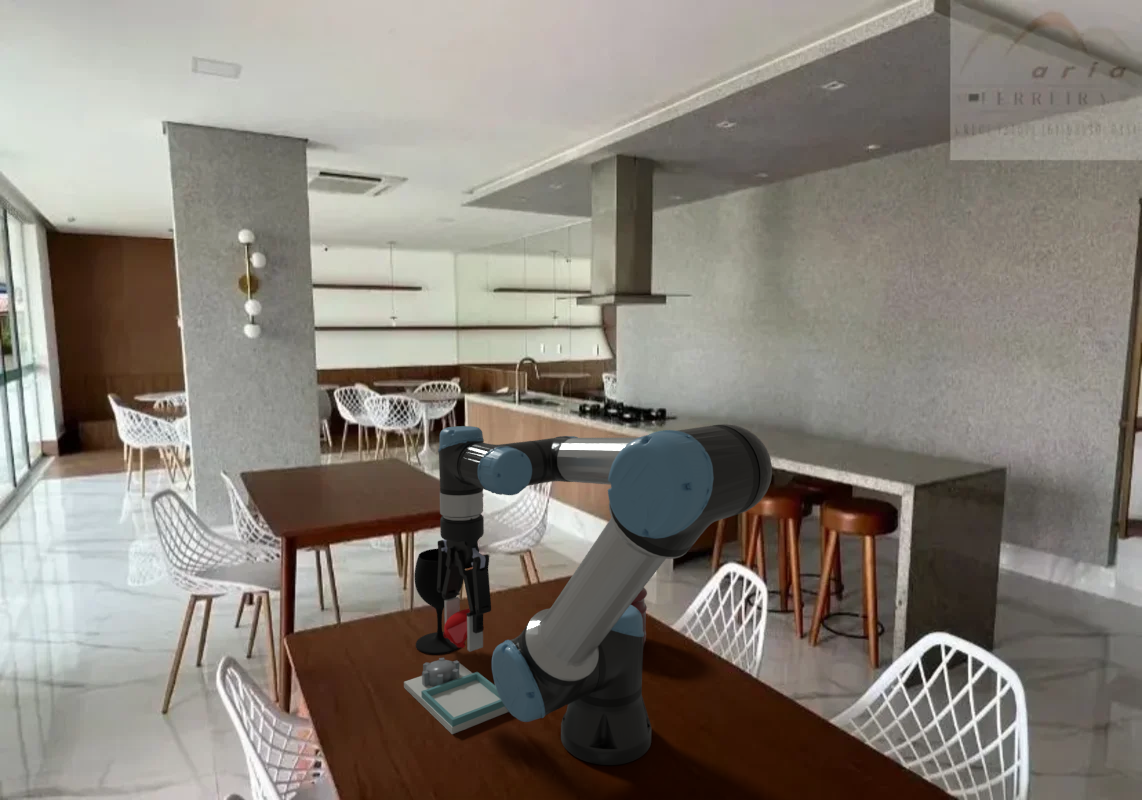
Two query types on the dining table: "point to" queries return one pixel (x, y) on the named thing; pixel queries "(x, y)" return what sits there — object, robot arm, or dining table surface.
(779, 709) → the dining table surface
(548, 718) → the dining table surface
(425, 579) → the wine glass
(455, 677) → the carrier board
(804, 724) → the dining table surface
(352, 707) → the dining table surface
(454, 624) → the cap
